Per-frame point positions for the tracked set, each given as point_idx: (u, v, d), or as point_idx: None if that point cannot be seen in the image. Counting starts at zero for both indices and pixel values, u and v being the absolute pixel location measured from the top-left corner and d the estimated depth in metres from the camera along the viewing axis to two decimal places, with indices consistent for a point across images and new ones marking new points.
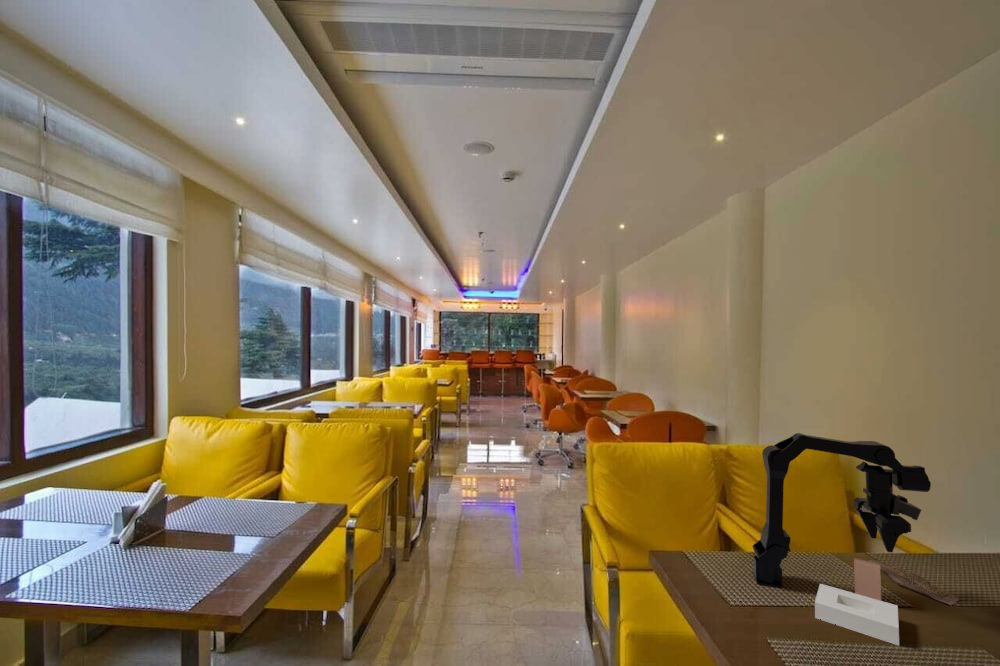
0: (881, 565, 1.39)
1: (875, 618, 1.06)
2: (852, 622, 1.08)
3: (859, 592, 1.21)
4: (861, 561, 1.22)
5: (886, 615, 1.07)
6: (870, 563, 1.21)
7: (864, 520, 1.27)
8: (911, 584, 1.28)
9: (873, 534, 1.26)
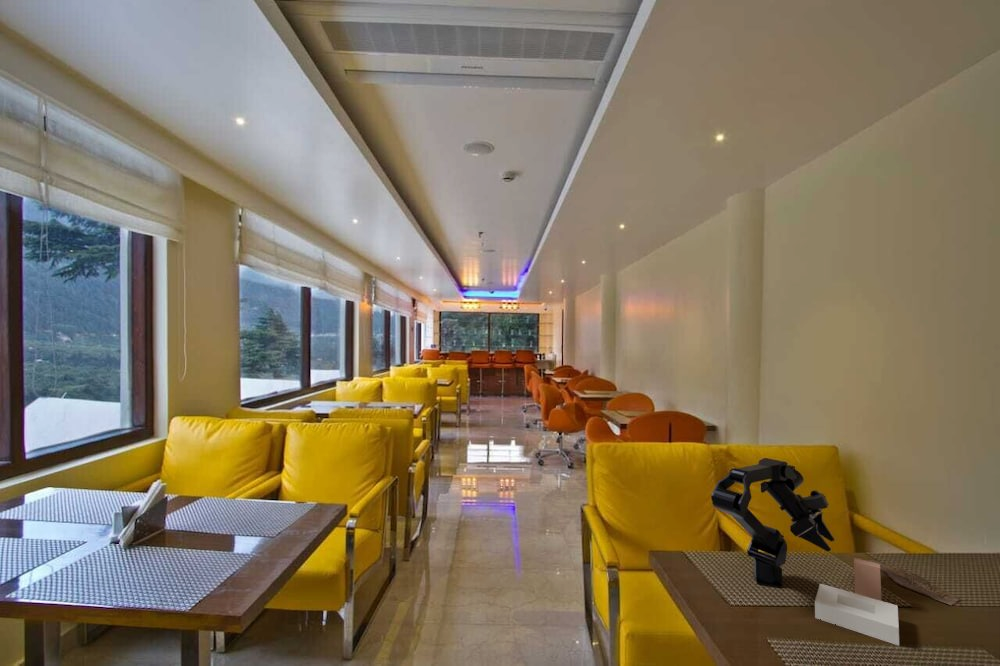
0: (881, 565, 1.39)
1: (875, 618, 1.06)
2: (852, 622, 1.08)
3: (859, 592, 1.21)
4: (861, 561, 1.22)
5: (886, 615, 1.07)
6: (869, 563, 1.21)
7: None
8: (911, 584, 1.28)
9: (829, 537, 1.30)
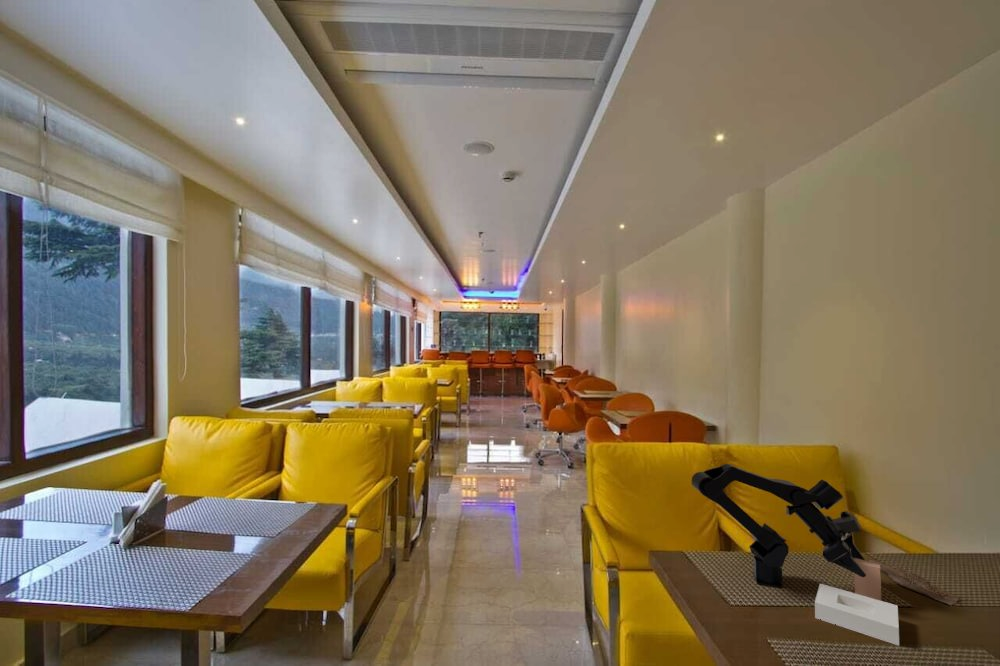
0: (881, 565, 1.39)
1: (875, 618, 1.06)
2: (852, 622, 1.08)
3: (859, 592, 1.21)
4: (861, 561, 1.22)
5: (886, 615, 1.07)
6: (869, 563, 1.21)
7: None
8: (911, 584, 1.28)
9: None
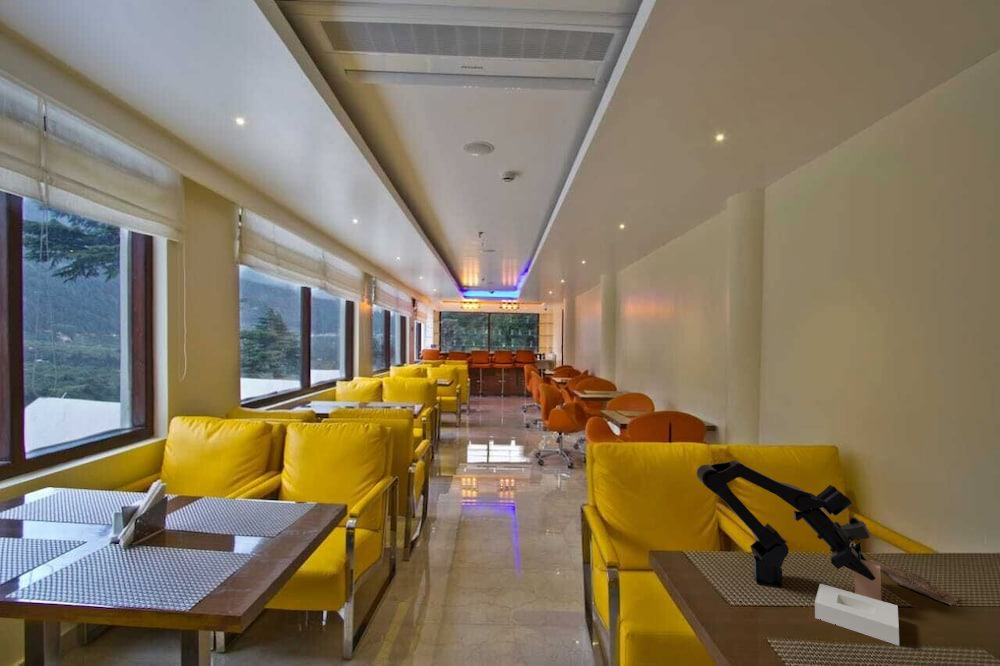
0: (881, 565, 1.39)
1: (875, 618, 1.06)
2: (852, 622, 1.08)
3: (859, 592, 1.21)
4: None
5: (886, 615, 1.07)
6: (870, 563, 1.21)
7: None
8: (911, 584, 1.28)
9: None
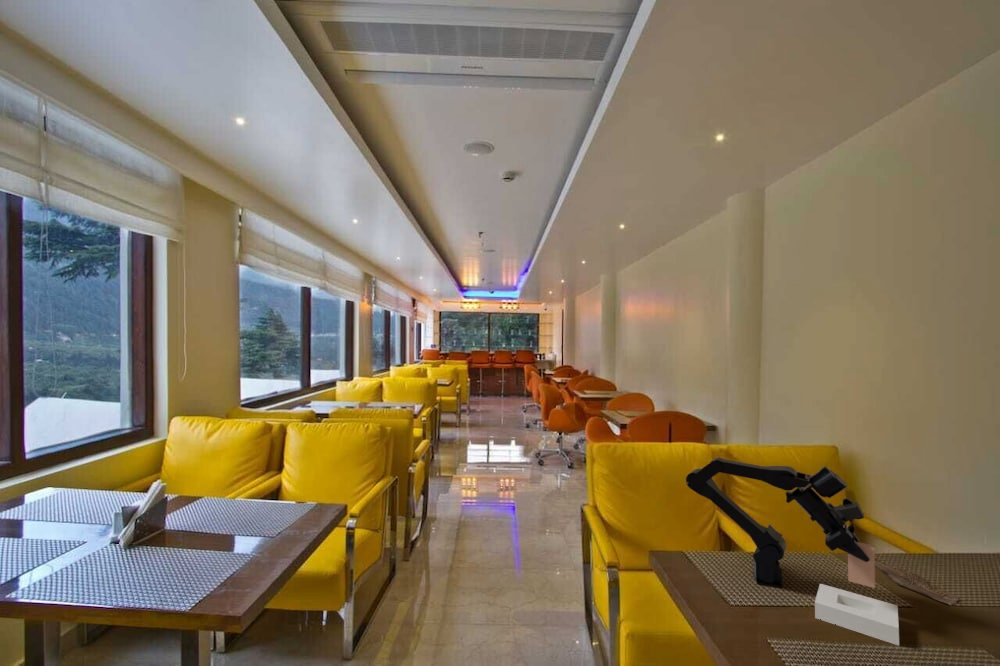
0: (881, 565, 1.39)
1: (875, 618, 1.06)
2: (852, 622, 1.08)
3: (852, 574, 1.17)
4: None
5: (886, 615, 1.07)
6: (863, 545, 1.17)
7: None
8: (911, 584, 1.28)
9: None
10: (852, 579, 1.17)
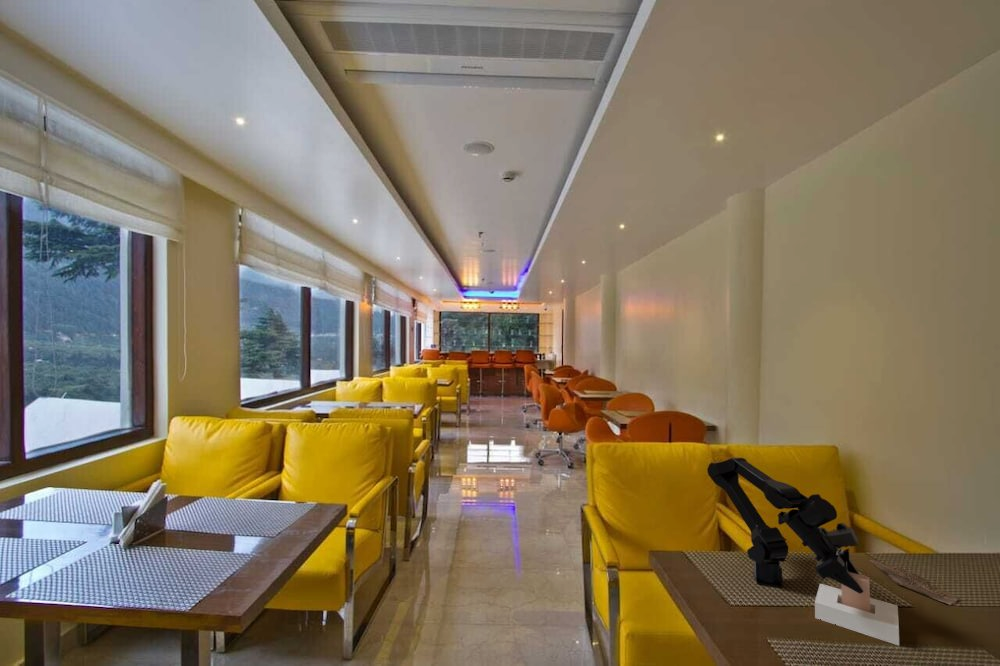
0: (881, 565, 1.39)
1: (875, 618, 1.06)
2: (852, 622, 1.08)
3: None
4: None
5: (886, 615, 1.07)
6: (858, 576, 1.12)
7: None
8: (911, 584, 1.28)
9: None
10: None
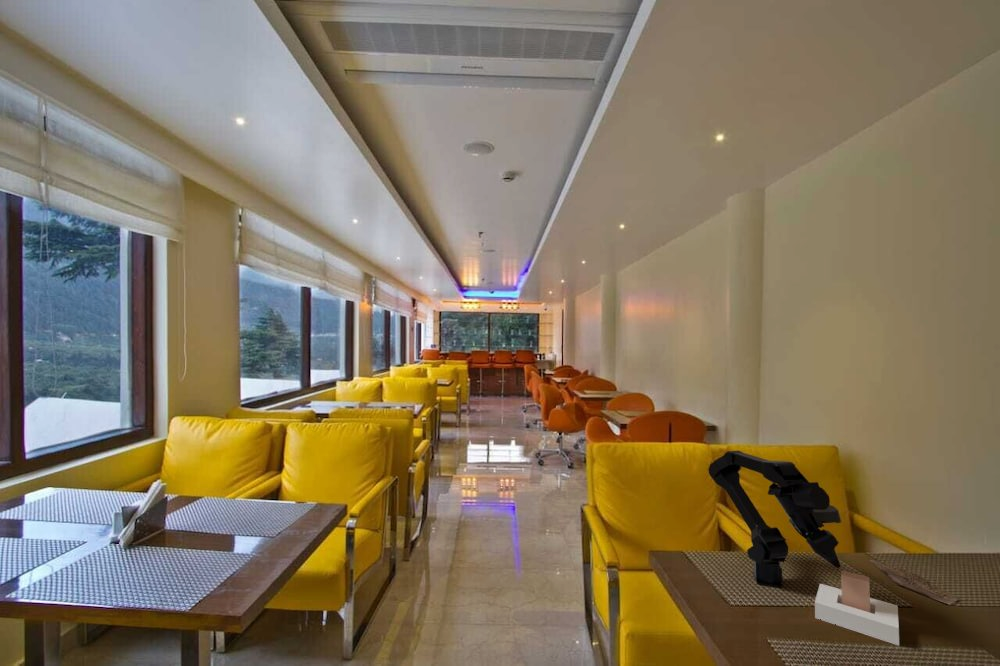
0: (881, 565, 1.39)
1: (875, 618, 1.06)
2: (852, 622, 1.08)
3: None
4: (849, 574, 1.13)
5: (886, 615, 1.07)
6: (858, 576, 1.12)
7: (807, 538, 1.26)
8: (910, 584, 1.28)
9: None
10: None
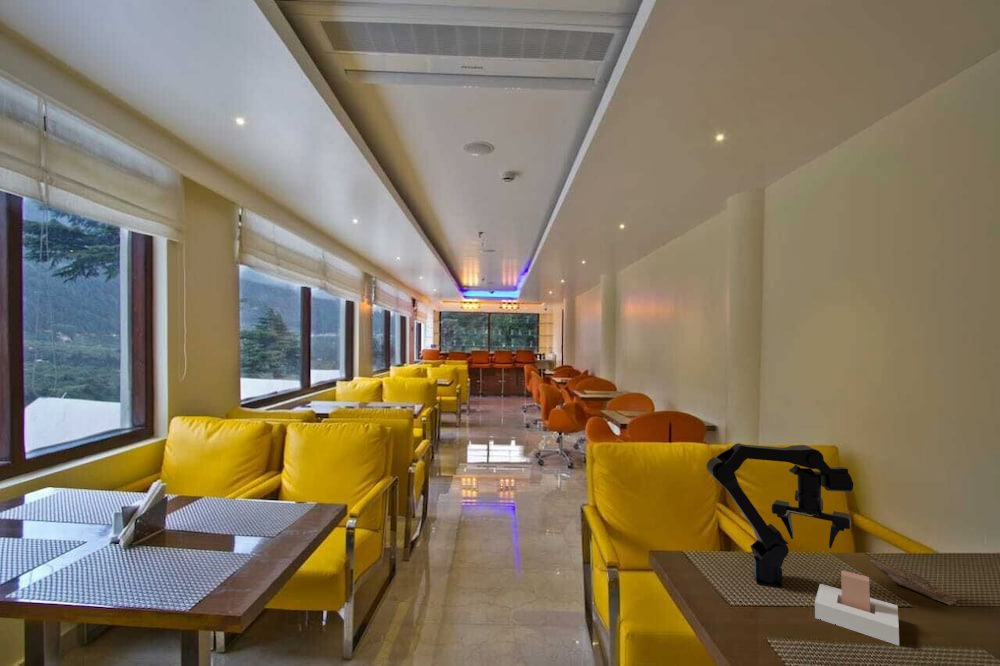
0: (881, 565, 1.39)
1: (875, 618, 1.06)
2: (852, 622, 1.08)
3: None
4: (849, 574, 1.13)
5: (886, 615, 1.07)
6: (858, 576, 1.12)
7: (789, 524, 1.31)
8: (910, 584, 1.28)
9: (792, 535, 1.32)
10: None
